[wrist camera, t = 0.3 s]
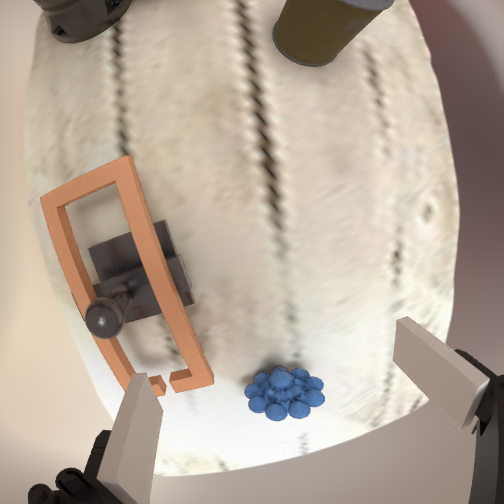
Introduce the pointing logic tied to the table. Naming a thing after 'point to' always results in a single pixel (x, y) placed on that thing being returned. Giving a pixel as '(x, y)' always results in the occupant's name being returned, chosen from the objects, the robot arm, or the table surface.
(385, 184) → the table surface
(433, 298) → the table surface
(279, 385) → the grapes
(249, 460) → the table surface
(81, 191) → the link
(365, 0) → the canister
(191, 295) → the stand
